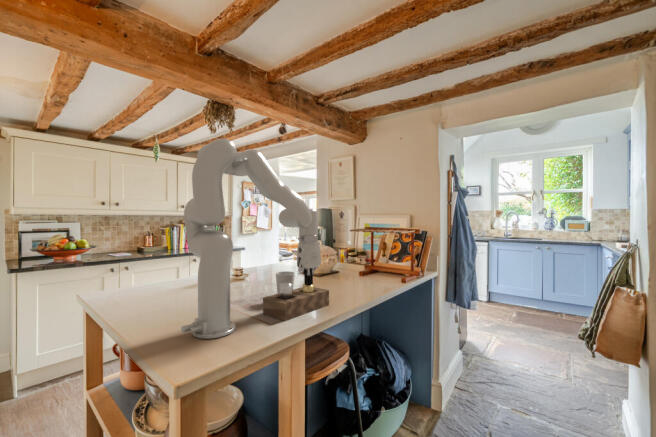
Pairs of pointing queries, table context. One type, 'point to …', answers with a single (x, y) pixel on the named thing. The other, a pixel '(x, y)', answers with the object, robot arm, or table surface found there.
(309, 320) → the table surface
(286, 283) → the steel peg
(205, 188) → the robot arm
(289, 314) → the walnut block
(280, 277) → the cup
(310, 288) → the brass peg
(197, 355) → the table surface
